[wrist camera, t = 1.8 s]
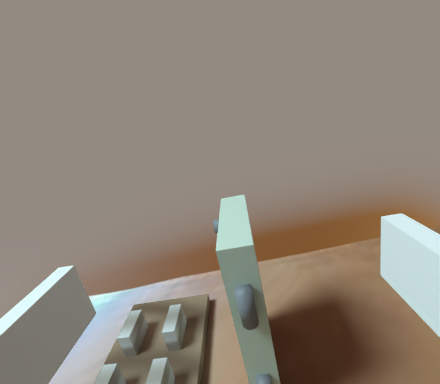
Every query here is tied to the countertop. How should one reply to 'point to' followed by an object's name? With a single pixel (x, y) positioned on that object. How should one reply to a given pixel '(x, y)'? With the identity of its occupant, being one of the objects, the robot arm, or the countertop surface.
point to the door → (245, 290)
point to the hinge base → (160, 344)
